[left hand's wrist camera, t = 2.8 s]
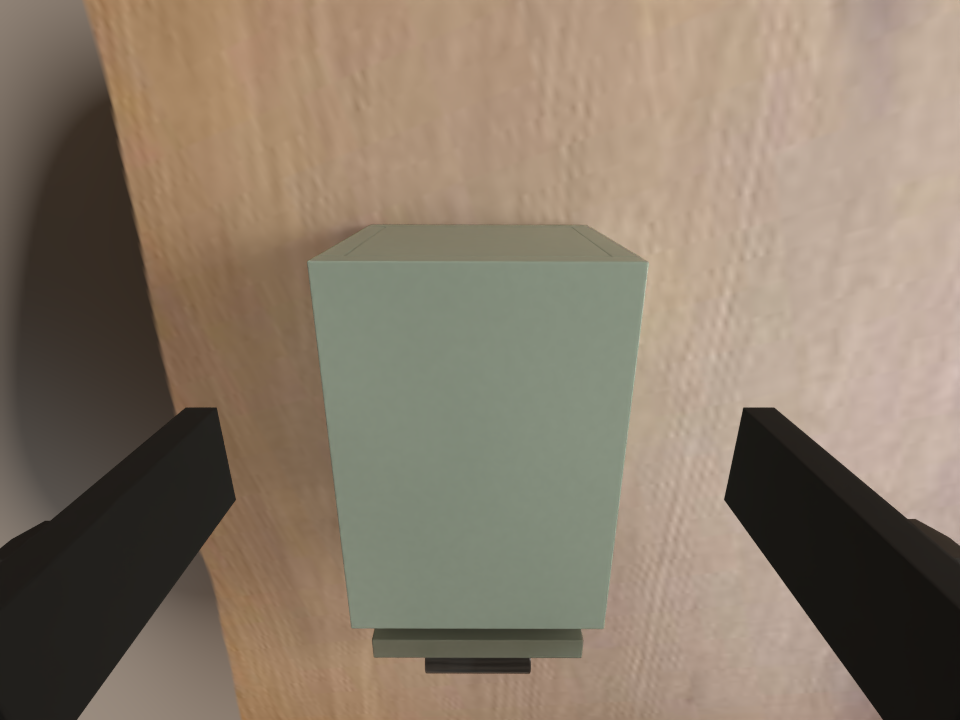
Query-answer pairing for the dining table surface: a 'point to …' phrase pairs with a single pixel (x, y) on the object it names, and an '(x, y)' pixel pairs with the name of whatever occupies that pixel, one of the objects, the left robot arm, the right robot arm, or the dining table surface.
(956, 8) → the dining table surface
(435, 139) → the dining table surface
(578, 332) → the sage green box
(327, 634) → the dining table surface
